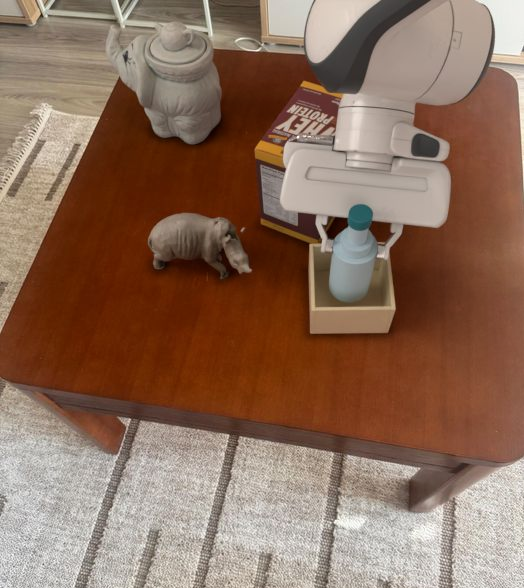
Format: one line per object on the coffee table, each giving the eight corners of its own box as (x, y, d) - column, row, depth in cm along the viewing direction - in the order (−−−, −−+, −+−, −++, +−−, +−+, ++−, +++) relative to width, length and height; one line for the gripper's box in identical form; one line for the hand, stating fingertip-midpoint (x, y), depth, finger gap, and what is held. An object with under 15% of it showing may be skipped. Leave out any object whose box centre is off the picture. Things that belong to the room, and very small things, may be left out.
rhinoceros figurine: (149, 217, 83) (184, 175, 70) (223, 258, 89) (268, 226, 76) (131, 259, 80) (165, 223, 68) (209, 298, 86) (253, 272, 73)
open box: (381, 269, 79) (388, 241, 74) (387, 332, 75) (395, 309, 69) (308, 270, 80) (309, 243, 74) (310, 333, 75) (311, 310, 69)
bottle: (367, 268, 75) (383, 193, 61) (370, 302, 72) (387, 231, 59) (327, 269, 75) (335, 195, 62) (329, 302, 73) (337, 233, 59)
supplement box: (358, 180, 88) (370, 98, 74) (318, 247, 82) (323, 172, 68) (302, 161, 90) (303, 78, 76) (259, 224, 85) (253, 148, 71)
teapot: (124, 111, 98) (88, 8, 82) (196, 82, 101) (176, -24, 84) (160, 166, 92) (129, 66, 75) (236, 133, 94) (223, 28, 77)
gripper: (281, 129, 61) (269, 249, 65) (464, 145, 58) (439, 270, 62) (288, 133, 66) (277, 243, 71) (454, 148, 64) (432, 262, 68)
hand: (354, 256), depth 67 cm, fingers closed on bottle, 5 cm apart
